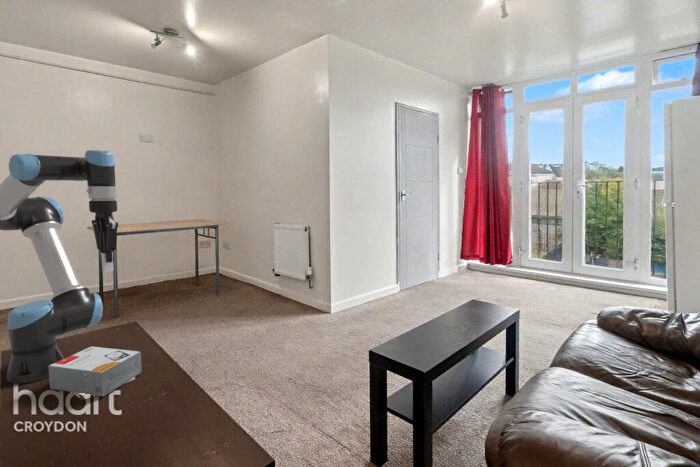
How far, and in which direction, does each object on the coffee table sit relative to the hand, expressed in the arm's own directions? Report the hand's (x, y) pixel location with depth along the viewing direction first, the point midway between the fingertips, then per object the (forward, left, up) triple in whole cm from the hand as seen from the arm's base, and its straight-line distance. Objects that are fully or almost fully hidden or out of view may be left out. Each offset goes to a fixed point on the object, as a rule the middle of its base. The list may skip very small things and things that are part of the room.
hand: (108, 271), depth 124 cm
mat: (+4, -7, -34) cm, 35 cm away
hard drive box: (+13, -4, -30) cm, 33 cm away
